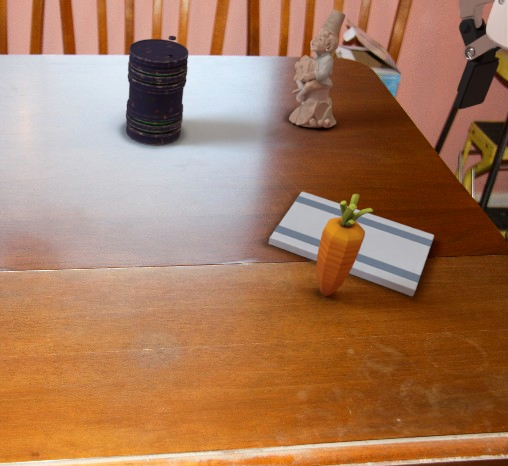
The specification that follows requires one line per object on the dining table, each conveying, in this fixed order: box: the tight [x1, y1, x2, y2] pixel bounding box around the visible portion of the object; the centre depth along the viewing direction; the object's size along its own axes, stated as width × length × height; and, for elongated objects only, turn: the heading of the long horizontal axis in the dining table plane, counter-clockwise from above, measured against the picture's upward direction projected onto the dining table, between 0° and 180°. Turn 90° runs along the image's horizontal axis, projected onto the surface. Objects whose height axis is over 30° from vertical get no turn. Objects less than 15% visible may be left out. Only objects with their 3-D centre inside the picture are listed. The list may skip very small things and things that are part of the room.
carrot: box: [315, 193, 374, 297], centre depth 79 cm, size 5×5×15 cm
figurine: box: [288, 9, 346, 128], centre depth 116 cm, size 9×8×20 cm
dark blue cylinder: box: [125, 35, 189, 146], centre depth 110 cm, size 10×10×18 cm
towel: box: [268, 191, 435, 297], centre depth 92 cm, size 20×14×1 cm
